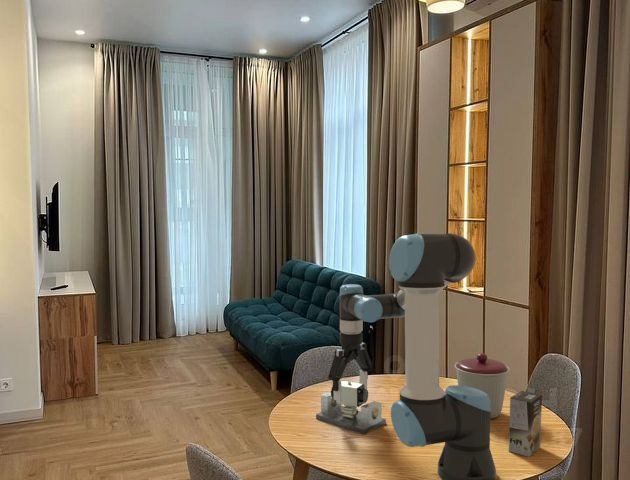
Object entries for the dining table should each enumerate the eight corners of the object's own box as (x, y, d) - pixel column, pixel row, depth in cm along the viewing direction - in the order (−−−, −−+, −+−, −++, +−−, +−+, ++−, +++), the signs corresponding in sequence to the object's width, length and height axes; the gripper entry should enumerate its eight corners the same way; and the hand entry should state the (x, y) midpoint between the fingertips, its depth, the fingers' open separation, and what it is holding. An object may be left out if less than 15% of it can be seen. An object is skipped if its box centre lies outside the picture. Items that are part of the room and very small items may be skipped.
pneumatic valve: (363, 422, 194) (362, 385, 193) (330, 416, 199) (330, 380, 198) (369, 416, 198) (369, 380, 197) (338, 410, 204) (337, 376, 203)
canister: (490, 402, 216) (491, 345, 215) (519, 421, 199) (521, 358, 197) (444, 407, 212) (445, 348, 210) (470, 426, 194) (471, 362, 193)
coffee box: (529, 457, 171) (531, 402, 170) (508, 451, 175) (509, 397, 174) (540, 447, 178) (542, 394, 177) (519, 441, 182) (521, 389, 181)
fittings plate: (386, 423, 196) (386, 401, 196) (363, 434, 188) (363, 410, 187) (338, 408, 210) (338, 388, 209) (315, 418, 201) (315, 396, 200)
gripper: (365, 324, 208) (364, 383, 210) (317, 336, 190) (317, 402, 191) (382, 327, 203) (382, 388, 205) (335, 340, 185) (334, 407, 186)
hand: (350, 395), depth 198 cm, fingers open, 13 cm apart
